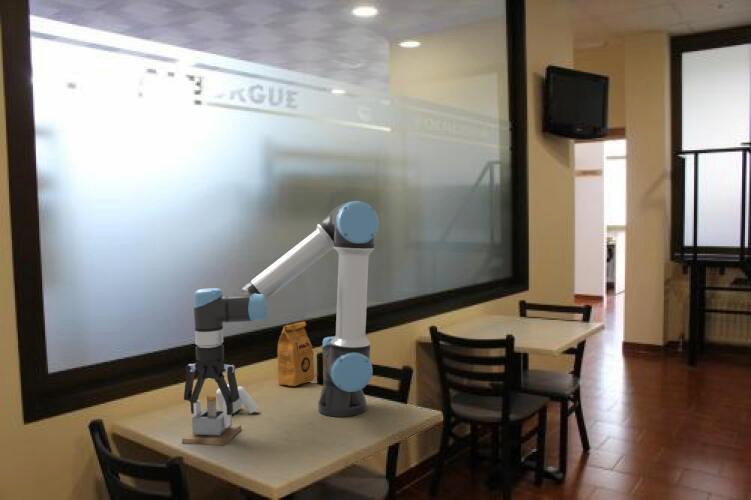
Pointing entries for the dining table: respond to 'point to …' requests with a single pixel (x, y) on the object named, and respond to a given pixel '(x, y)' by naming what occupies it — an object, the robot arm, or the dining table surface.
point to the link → (209, 423)
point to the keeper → (212, 438)
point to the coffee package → (295, 356)
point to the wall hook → (243, 398)
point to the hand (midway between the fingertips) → (212, 425)
